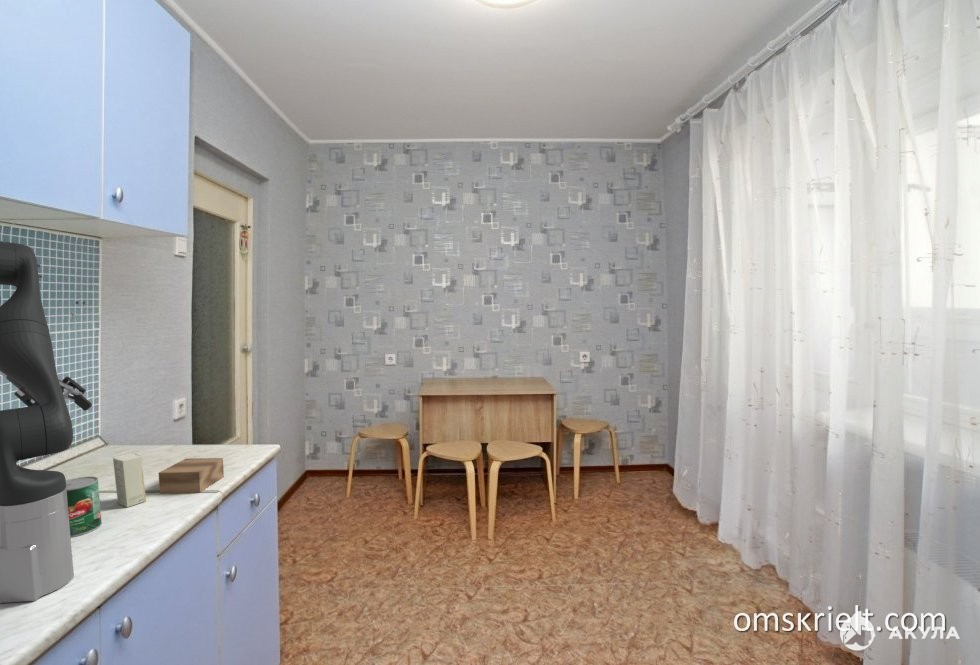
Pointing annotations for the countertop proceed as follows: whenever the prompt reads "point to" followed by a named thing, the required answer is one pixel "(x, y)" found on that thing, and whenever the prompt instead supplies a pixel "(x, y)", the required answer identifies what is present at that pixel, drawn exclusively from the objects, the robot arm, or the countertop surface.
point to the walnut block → (191, 475)
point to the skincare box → (129, 479)
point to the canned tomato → (83, 505)
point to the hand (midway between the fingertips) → (75, 412)
